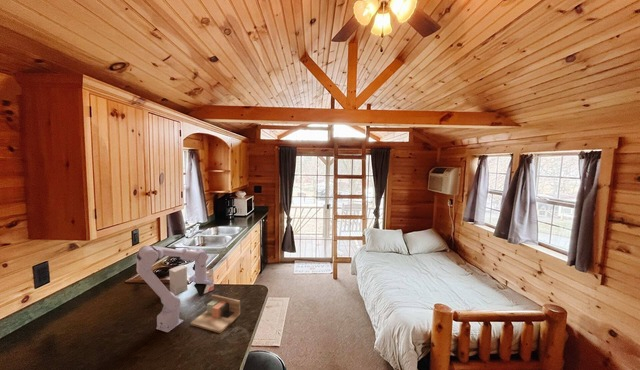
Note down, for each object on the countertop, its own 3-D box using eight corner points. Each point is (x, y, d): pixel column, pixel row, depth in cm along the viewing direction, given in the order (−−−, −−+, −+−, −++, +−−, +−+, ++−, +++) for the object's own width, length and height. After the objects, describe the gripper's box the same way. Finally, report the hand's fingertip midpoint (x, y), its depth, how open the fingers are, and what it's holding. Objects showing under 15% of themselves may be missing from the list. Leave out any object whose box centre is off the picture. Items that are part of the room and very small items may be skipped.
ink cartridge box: (210, 287, 164) (209, 266, 163) (214, 289, 161) (213, 268, 160) (197, 292, 158) (196, 270, 156) (201, 295, 155) (200, 272, 153)
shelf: (220, 333, 121) (219, 317, 120) (190, 324, 127) (190, 309, 126) (240, 314, 136) (240, 300, 135) (213, 307, 142) (212, 294, 141)
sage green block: (213, 314, 134) (212, 305, 133) (207, 312, 135) (207, 304, 134) (219, 308, 139) (219, 300, 138) (214, 307, 140) (214, 299, 139)
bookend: (227, 318, 131) (227, 309, 130) (221, 316, 132) (221, 307, 131) (234, 312, 136) (234, 303, 135) (227, 310, 137) (227, 302, 136)
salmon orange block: (218, 318, 130) (217, 309, 130) (212, 316, 132) (211, 307, 131) (226, 310, 137) (226, 302, 137) (221, 309, 138) (220, 300, 138)
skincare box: (182, 287, 164) (181, 264, 163) (188, 289, 161) (187, 266, 159) (169, 292, 157) (168, 269, 155) (175, 295, 153) (174, 271, 152)
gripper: (216, 271, 137) (217, 294, 139) (196, 267, 142) (196, 289, 143) (207, 276, 131) (207, 300, 132) (186, 272, 135) (186, 295, 137)
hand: (201, 295), depth 137 cm, fingers closed
